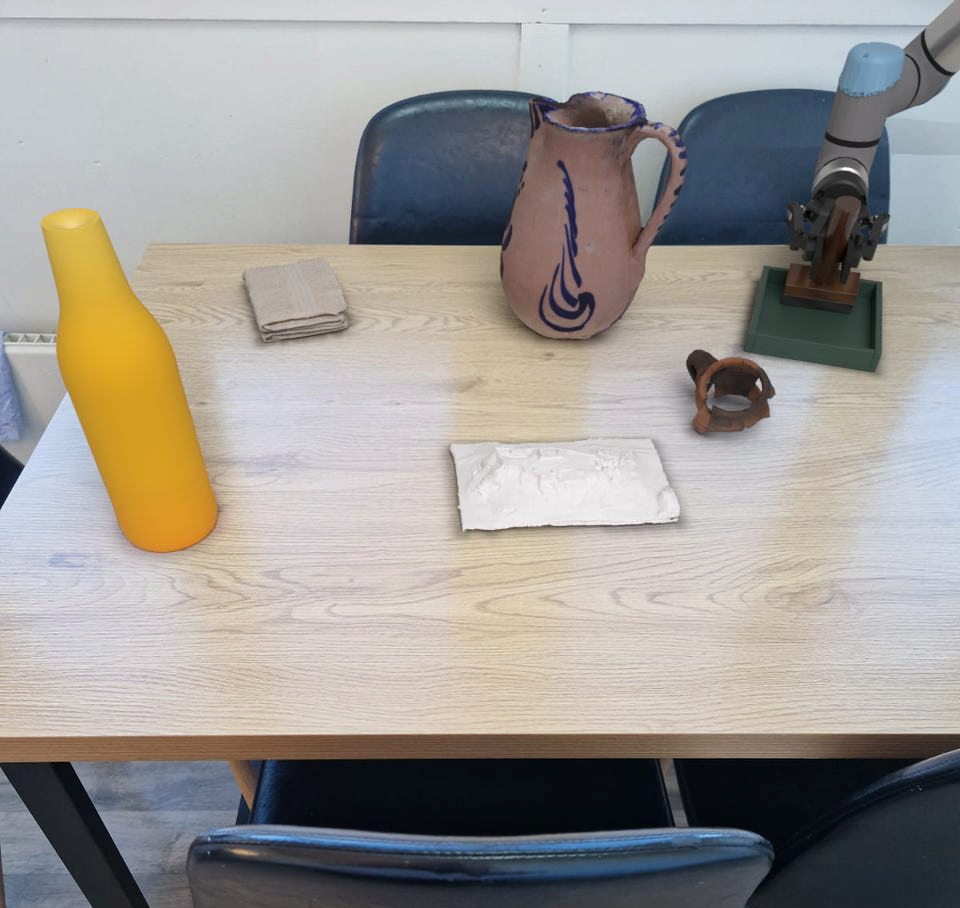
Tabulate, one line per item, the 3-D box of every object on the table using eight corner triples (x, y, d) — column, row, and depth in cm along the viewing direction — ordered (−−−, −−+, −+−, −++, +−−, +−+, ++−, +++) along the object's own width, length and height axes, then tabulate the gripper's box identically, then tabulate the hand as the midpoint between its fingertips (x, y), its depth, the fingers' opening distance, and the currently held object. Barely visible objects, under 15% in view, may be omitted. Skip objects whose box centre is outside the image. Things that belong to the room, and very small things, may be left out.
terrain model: (693, 530, 86) (705, 490, 82) (467, 552, 82) (470, 511, 79) (640, 434, 97) (648, 394, 93) (438, 449, 93) (439, 409, 89)
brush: (853, 291, 115) (889, 196, 103) (850, 314, 113) (885, 219, 101) (785, 281, 117) (812, 187, 105) (780, 303, 115) (807, 209, 103)
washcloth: (262, 347, 108) (258, 323, 105) (241, 284, 119) (236, 261, 117) (355, 332, 110) (353, 309, 108) (325, 271, 122) (323, 249, 119)
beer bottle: (104, 545, 83) (-25, 237, 61) (153, 487, 89) (52, 188, 67) (191, 563, 81) (90, 253, 59) (236, 503, 87) (158, 202, 65)
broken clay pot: (785, 419, 98) (798, 382, 90) (724, 474, 98) (731, 442, 90) (710, 355, 102) (715, 313, 94) (650, 408, 102) (651, 371, 94)
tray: (876, 299, 117) (882, 281, 115) (874, 372, 104) (882, 353, 103) (759, 282, 120) (763, 265, 118) (744, 351, 108) (749, 332, 106)
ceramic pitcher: (524, 282, 120) (533, 74, 101) (673, 310, 115) (712, 96, 96) (478, 342, 109) (479, 120, 90) (641, 375, 104) (678, 148, 85)
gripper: (889, 233, 121) (888, 310, 106) (772, 218, 124) (756, 290, 109) (909, 176, 115) (911, 248, 100) (786, 162, 119) (771, 230, 104)
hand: (830, 270), depth 105 cm, fingers closed on brush, 3 cm apart
